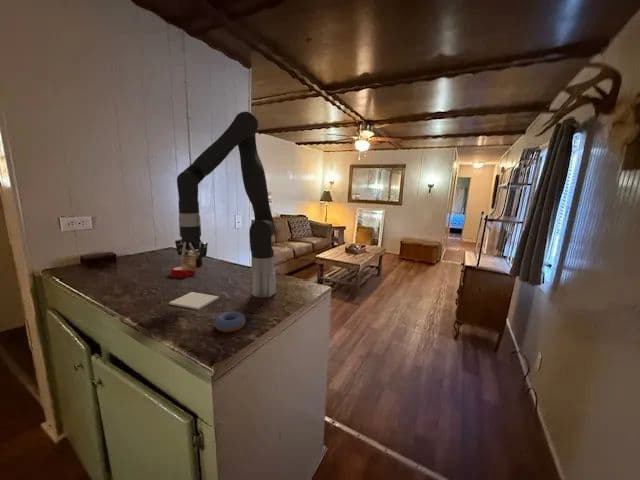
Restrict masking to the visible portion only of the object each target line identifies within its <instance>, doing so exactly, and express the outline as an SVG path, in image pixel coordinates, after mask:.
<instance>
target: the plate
mask: <svg viewBox="0 0 640 480" xmlns="http://www.w3.org/2000/svg"><path fill="white" fill-rule="evenodd" d="M219 298H220V297H219V296H218V295H212V294H206V293H201V292H193V291H191V292H189V293H186V294H184V295H182V296H179V297H178V298H176V299H173V300H171V301H169V303H168V304H169V305H172V306H175V307H182V308H187V309H192V310H197V311H198V310H200V309H203V308H204V307H205V306H207V305H210V304H211V303H213V302H215V301H216V300H219Z"/></svg>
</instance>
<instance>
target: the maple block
mask: <svg viewBox="0 0 640 480" xmlns="http://www.w3.org/2000/svg"><path fill="white" fill-rule="evenodd" d="M198 255H199V254H198ZM180 259H181V261H180V263H181V265H182V269H183V270H190V271H195V270H196V271H197V270H199V269H202V268H204V257H202V266H201V267H200V268H196V257H195V254H193V252H189V254H185V255H182V256H181V255H180Z"/></svg>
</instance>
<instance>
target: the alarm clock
mask: <svg viewBox="0 0 640 480" xmlns="http://www.w3.org/2000/svg"><path fill="white" fill-rule="evenodd" d="M167 271H170V274H169V276H170V277H171V278H180V279H185V278H187V277H189V276H195V275H196V273H197V270H195V271H190V270H183V269H182V264H181V265H175V266H172V267H171V268H170V269H167Z"/></svg>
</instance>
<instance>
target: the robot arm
mask: <svg viewBox="0 0 640 480" xmlns="http://www.w3.org/2000/svg"><path fill="white" fill-rule="evenodd" d="M258 129H259V122H258V118H257V117H256V115H254V113H252V112H250V111H241V112H239V113H237V114H236V115H235V117H234V119H233V121H232V122H231V123H230V125H229V126H228V127H227V128H226V130H225V131H224V132H223V133H222V134H221V135H220V136H219V137H218V138H217V139H216V140H215V141H214V142H213V143H212V144H211V145H209V146H208V147H207V148H206V149H204V151H203V152H202V153H200V154H199V155H198V157H196V158H195V159H194V161H193V162H192V163H191V164H190V165H189V166H188V167H187V168H186V169H184V170H183V171H182V172H180V173H179V174H178V175H177V178H176V184H177V193H178V224H179V225H178V227H179V236H180V239H176V240H175V241H174V243H175V248H176V252H177V255H178V256H180V257H181V256H182V255H185V254H189V253H193V254H195V257H196V268H200V267H201V266H202V257H203V258H204V257H206V256H207V252H208V246H209V245H208V242H207V241H205V242H204V241H202V240H201V236H202V231H201V230H202V228H201V225H202V223H201V222H202V221H201V215H200V203H199V202H200V201H199V184H200V183H201V182H202V181H203V180H204V179H205V178H206V177H207V176H208V175H210V174H211V173H213V172H214V170H215V169H216V168H218V166H220V165H221V164H222V162H223V161H225V159H226V158H227V157H228V156H229V154H230V153H231V152H233V151H232V150H234V149H235V148H236V147H237V148H238V151H239V159H240V160H239V161H240V169H241V176H242V177H241V178H242V182H243V187H244V190H245V193H246V196H247V198H248V200H249V202H250V204H251V207H252V210H253V214H254V215H253V216H254V221H253V222H252V223H251V224H250V226H249V235H248V236H249V249H250V252H251V275H252V276H251V277H252V296H253V297H255V298H263V299H265V298H271V297H272V296H274V295H275V294H276V293H277V289H276V288H277V287H276V286H277V281H276V280H277V277H276V276H277V273H276V272H275V264H274V263H275V262H274V261H275V259H274V257H275V256H274V255H275V253H274V252H275V250H274V249H273V246H272V245H273V244H272V243H273V242H272V240H273V239H272V237H273V236H274V235H275V232H276V226H275V222H274V219H273V218H274V217H273V214H272V210H271V206H270V199H269V192H268V185H267V178H266V173H265V168H264V165H263V163H262V160H261V158H260V155H259V153H258V148H257V142H256V140H257V139H256V138H257V137H256V133H257V132H258ZM191 251H192V252H191ZM198 254H199V255H198ZM200 269H201V268H200Z"/></svg>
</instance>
